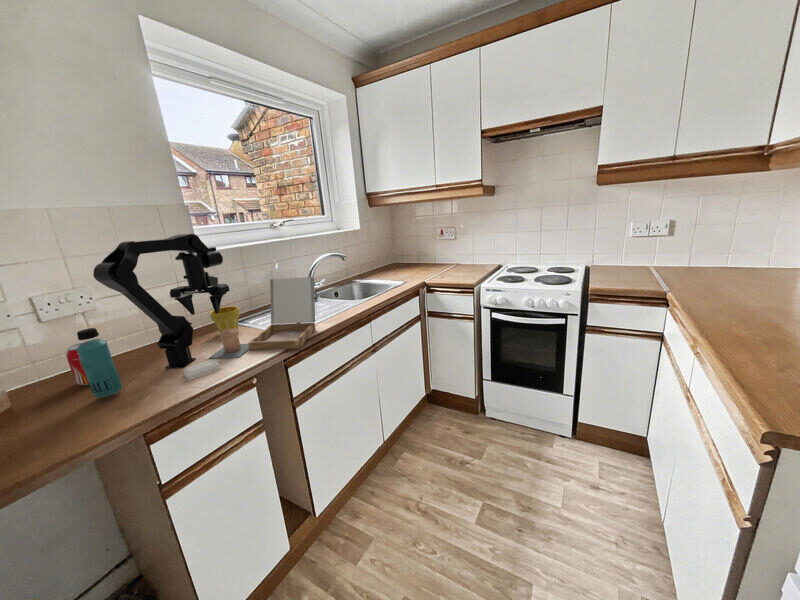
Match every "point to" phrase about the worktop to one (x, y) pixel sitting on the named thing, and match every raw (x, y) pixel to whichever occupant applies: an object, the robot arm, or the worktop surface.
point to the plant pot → (226, 318)
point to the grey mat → (237, 354)
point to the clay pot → (230, 340)
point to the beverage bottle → (98, 364)
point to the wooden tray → (260, 344)
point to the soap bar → (201, 369)
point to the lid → (292, 300)
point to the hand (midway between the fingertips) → (205, 313)
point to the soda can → (76, 365)
